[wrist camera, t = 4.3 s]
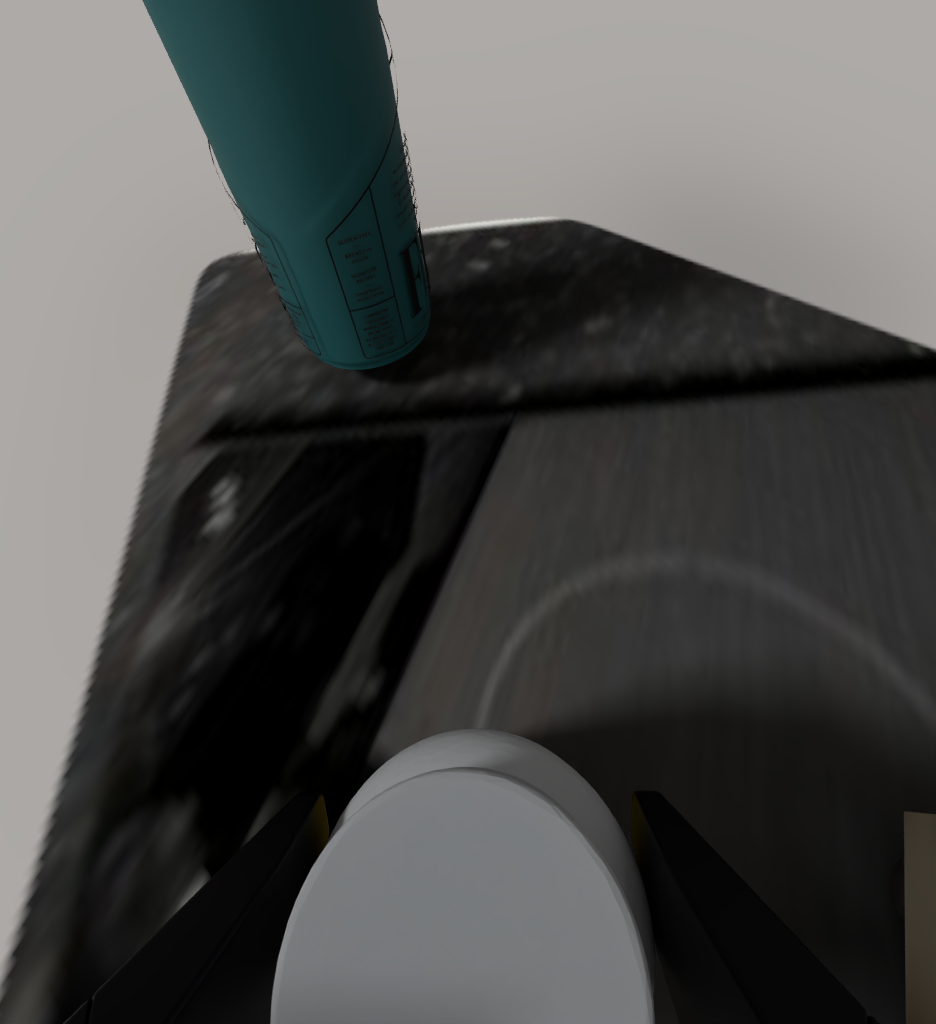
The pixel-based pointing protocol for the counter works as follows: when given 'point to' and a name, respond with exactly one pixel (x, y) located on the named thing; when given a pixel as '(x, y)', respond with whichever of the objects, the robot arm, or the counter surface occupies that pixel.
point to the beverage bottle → (311, 162)
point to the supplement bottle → (470, 898)
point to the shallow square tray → (918, 914)
